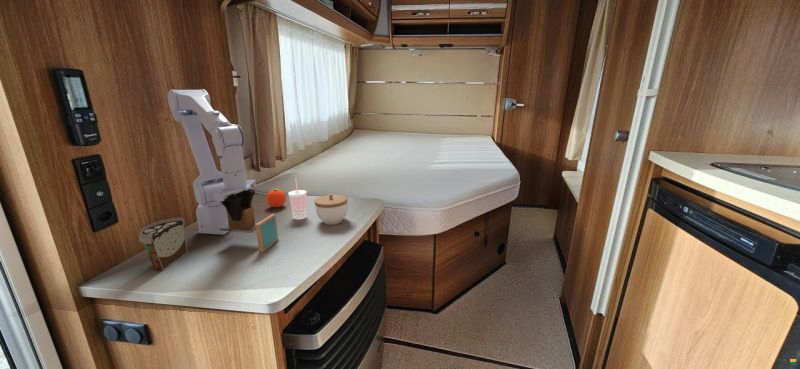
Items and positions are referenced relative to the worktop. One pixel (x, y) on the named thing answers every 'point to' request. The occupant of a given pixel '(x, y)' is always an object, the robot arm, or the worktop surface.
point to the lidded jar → (331, 208)
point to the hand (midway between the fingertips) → (241, 217)
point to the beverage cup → (298, 203)
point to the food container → (164, 242)
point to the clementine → (276, 198)
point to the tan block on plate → (242, 221)
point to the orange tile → (266, 232)
